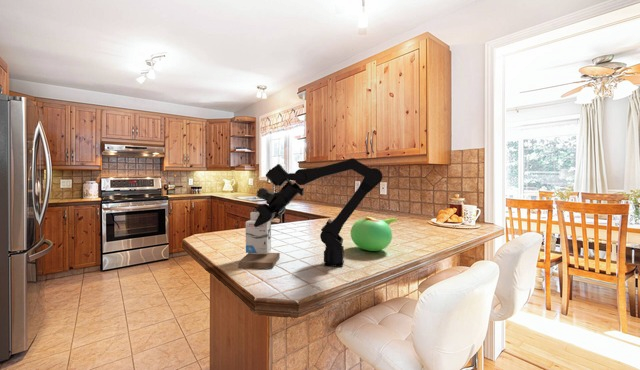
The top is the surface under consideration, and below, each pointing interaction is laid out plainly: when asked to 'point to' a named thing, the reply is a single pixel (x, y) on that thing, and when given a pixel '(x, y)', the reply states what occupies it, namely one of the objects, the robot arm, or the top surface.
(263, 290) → the top surface
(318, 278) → the top surface
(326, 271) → the top surface
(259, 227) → the ink box
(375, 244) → the round green pot
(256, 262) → the walnut block
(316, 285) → the top surface
